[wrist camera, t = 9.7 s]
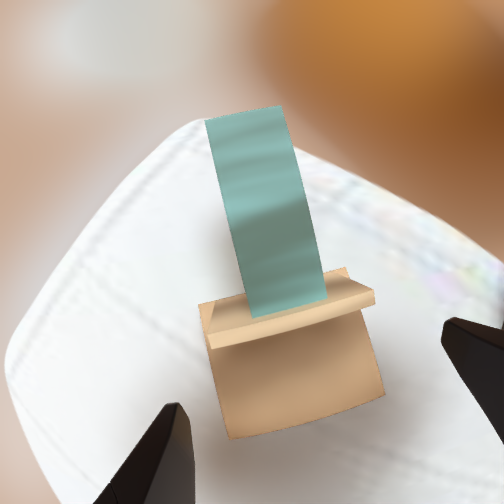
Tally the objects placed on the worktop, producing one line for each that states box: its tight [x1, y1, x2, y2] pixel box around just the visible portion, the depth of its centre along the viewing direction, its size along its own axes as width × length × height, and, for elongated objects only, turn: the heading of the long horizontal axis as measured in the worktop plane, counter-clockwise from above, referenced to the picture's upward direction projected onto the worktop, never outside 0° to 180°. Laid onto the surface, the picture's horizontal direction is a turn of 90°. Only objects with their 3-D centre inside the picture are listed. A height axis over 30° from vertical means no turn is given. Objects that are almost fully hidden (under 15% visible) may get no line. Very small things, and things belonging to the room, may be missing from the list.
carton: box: [198, 267, 385, 440], centre depth 18 cm, size 9×10×4 cm
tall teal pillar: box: [204, 106, 375, 349], centre depth 15 cm, size 6×8×10 cm
